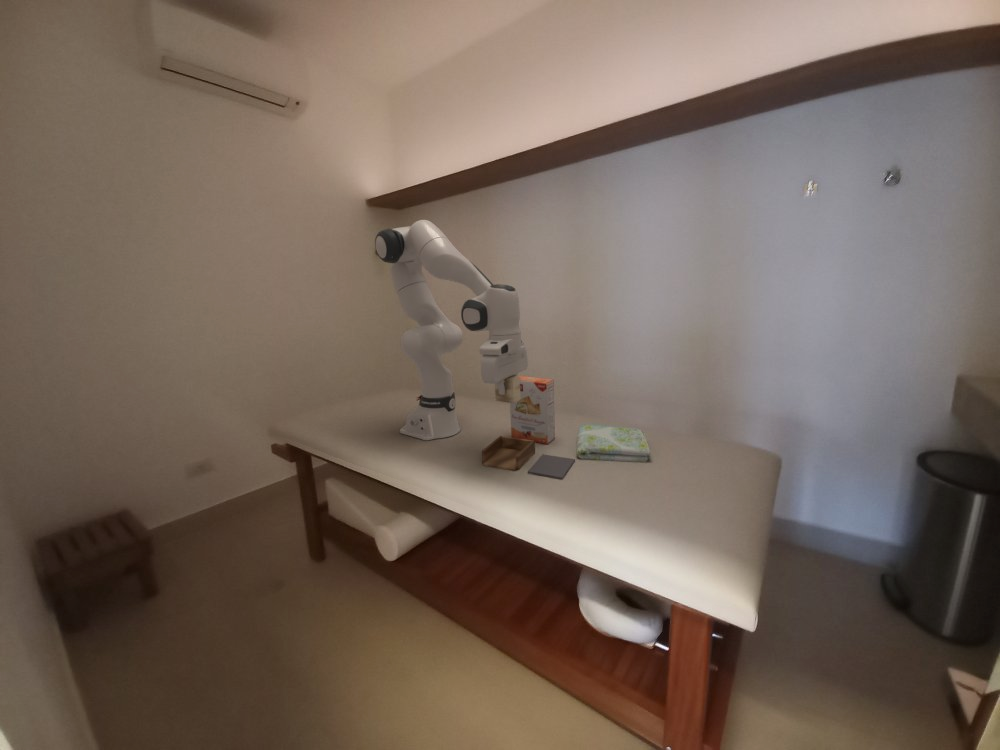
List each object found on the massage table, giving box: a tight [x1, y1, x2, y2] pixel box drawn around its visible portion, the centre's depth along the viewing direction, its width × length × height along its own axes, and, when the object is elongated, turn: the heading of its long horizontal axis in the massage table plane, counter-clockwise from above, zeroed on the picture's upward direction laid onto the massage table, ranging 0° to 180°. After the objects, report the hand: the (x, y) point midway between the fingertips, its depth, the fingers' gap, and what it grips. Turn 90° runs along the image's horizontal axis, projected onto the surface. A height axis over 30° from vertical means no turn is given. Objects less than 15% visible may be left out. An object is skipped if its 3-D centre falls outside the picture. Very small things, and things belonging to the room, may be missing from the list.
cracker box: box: [509, 375, 556, 445], centre depth 132 cm, size 14×6×21 cm, turn 57°
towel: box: [575, 423, 651, 463], centre depth 123 cm, size 18×21×5 cm
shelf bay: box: [481, 435, 536, 472], centre depth 120 cm, size 12×14×4 cm
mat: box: [527, 454, 576, 480], centre depth 113 cm, size 10×12×1 cm
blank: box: [494, 375, 521, 404], centre depth 114 cm, size 6×4×7 cm, turn 59°
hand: (507, 391), depth 114 cm, fingers closed on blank, 4 cm apart
